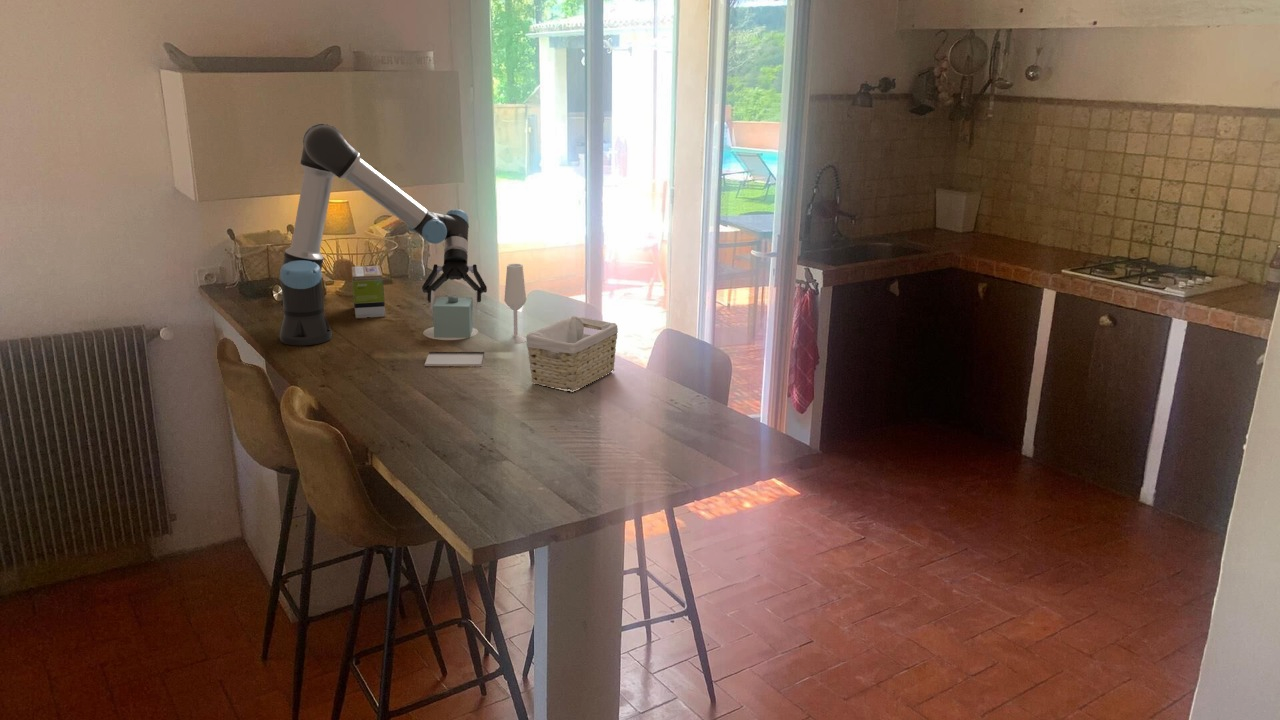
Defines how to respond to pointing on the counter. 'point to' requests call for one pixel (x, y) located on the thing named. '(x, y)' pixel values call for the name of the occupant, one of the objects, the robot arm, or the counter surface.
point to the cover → (453, 317)
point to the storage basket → (571, 352)
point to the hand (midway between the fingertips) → (454, 310)
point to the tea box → (368, 291)
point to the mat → (454, 359)
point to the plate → (430, 334)
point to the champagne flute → (515, 294)
